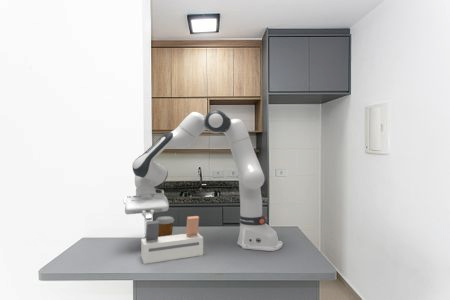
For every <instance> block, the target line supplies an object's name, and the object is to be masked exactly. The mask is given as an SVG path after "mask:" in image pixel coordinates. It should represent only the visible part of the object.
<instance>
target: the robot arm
mask: <svg viewBox="0 0 450 300" xmlns="http://www.w3.org/2000/svg"><path fill="white" fill-rule="evenodd" d="M204 131H206V132H209V133H211V134H220V133H223V134H224V135H225V137H226V139H227V143H228V145H229V149H230V151H231V155H232V158H233V160H234V163H235V166H236V168H237V171H238V187H239V188H238V189H239V202H240V204H239V205H240V207H239V209H240V211H239V212H240V213H239V219H238V221H239V222H238V223H239V234H238V238H237V239H238V240H237V243H236V244H237V245H238V246H240V247H241V248H242V249H244V250H255V251H267V252H268V251H269V252H276V251H278V250H280V249H281V248H283V245H284V244H283V241H281V240H279V237H278V232H277V231H276V230H274V228H273V227H271V226H270V225H269V224H267V219H268V218H267V216H264V215H263V197H262V191H261V187H263V186H264V183H265V179H266V178H265V174H264V171H263V169H262V166H261V163H260V161H259V159H258V157H257V154H256V152H255V150H254V146H253V143H252V139H251V137H250V134H249V131H248V130H247V127H246V125H245V123H244V122H243V120H242V119H241V118H232V119H231V118H230V117H229V116H228V115H227V114H226V113H224V112H223V111H222V110H219V109H213V110H210V111H209V112H208V113H207V114H206V115H204V114H202V113H200V112H198V111H192V112H191V113H189V114H188V115H187V116H185V118H184V119H183V120H182V121H181V122H180V123H179V125H178V126H177V127H176V128H175V129H173V130H172V131H169V132H166V133H163V134H162V135H161V136H160V137H159V138H158V139H157V140H156V141H155V142H154V143H153V144H152V145H151V146H150V147H149V148H147V150H146V151H145V152H143V153H142V154H141V155H139V156H138V157H137V158H135V160H134V161H133V162H132V172H133V174H134V184H135V194H136V195H131V196H129V195H127V196H125V197H124V198H123V203H124V205H125V206H124V213H125V214H126V215H136V214H141V215H142V217H144V220H145V221H153V216H154V213H160V212H161V213H162V212H167V211H168V210H169V207H170V203H169V199H168V197H167V196H166V195H165V190H164V189H160V188H155V187H158V186H160V185H161V184H163V183H164V182H166V180H167V179H168V176H169V175H168V174H169V172H168V171H169V170H168V168H167V167H166V166H164V165H163V164H161V163H159V162H156V161H155V159H156V158H157V157H158V156H159V155H160V154H161V153H162V152H163V151H164V150H166V149H169V148H175V149H187V148H189V147H191V146H193V145H194V143H195V141H197V139H198V137H199V136H200V135H201V134H202V133H203V132H204ZM148 213H149V214H148Z"/></svg>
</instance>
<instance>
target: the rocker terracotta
mask: <svg viewBox="0 0 450 300" xmlns="http://www.w3.org/2000/svg"><path fill="white" fill-rule="evenodd" d="M199 222H200V216H199V215H192V216H187V217H186V227H185V234H186V236H191V235H197V233H199V224H200V223H199Z"/></svg>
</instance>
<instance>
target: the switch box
mask: <svg viewBox="0 0 450 300" xmlns="http://www.w3.org/2000/svg"><path fill="white" fill-rule="evenodd" d="M140 239H141V241H140V243H141V244H140V245H141V247H140V248H141V249H140V250H141V251H140V253H141V255H140V256H141V260H142V262H143V264H144V265H147V264H152V263H153V264H154V263H160V262H166V261H173V260H180V259H185V258H192V257H199V256H200V257H201V256H204V237H203V236H202V235H201V234H200V233H199V232H198V233H197V235H191V236H186V233H179V234H172V235H170V236H162V237H158V240H150V241H146V237H145V238H140Z"/></svg>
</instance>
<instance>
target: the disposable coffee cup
mask: <svg viewBox="0 0 450 300" xmlns="http://www.w3.org/2000/svg"><path fill="white" fill-rule="evenodd" d="M157 220H158V221H159V232H158V237H162V236H170V235H173V227H174V221H175V219H174V217H173V216H169V215H167V216H166V215H164V216H162V215H161V216H158V217H157V218H156V220H155V221H157Z"/></svg>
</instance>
